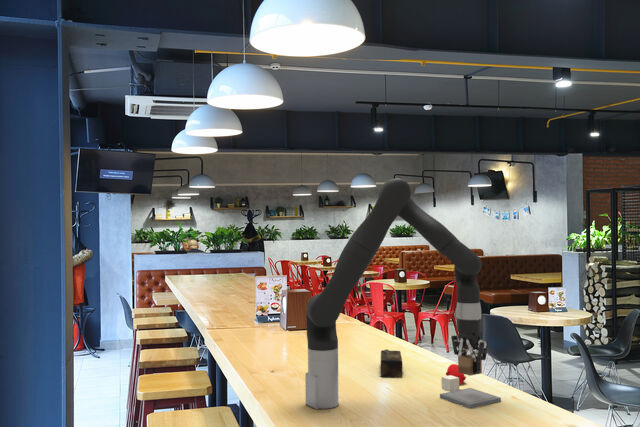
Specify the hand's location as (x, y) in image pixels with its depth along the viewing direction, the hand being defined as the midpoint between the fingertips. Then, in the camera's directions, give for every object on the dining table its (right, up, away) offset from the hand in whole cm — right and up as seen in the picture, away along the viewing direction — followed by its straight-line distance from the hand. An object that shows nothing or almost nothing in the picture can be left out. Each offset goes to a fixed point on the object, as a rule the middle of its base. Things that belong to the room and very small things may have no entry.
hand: (469, 371), depth 187 cm
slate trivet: (0, -9, 0) cm, 9 cm away
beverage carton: (-20, -10, +37) cm, 43 cm away
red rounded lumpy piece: (0, -9, +20) cm, 22 cm away
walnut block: (0, 0, 0) cm, 0 cm away
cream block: (-4, -9, +12) cm, 15 cm away
